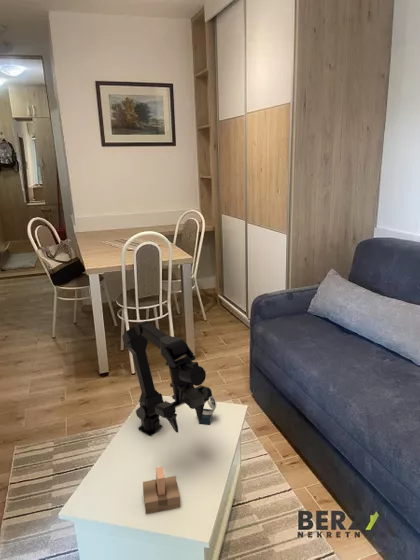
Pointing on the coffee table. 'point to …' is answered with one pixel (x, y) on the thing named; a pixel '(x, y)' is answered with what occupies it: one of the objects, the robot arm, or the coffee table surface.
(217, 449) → the coffee table surface
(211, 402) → the watch
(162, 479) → the rectangular block
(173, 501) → the slot box
